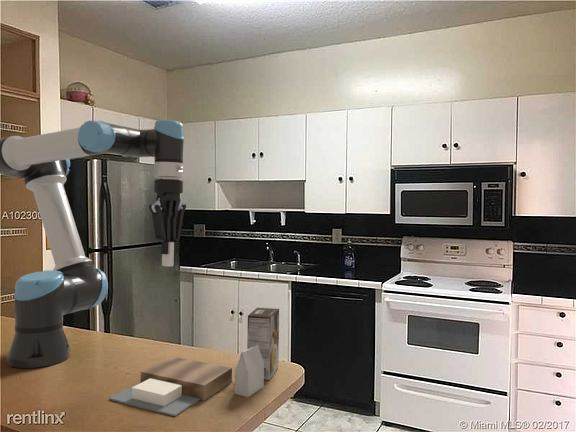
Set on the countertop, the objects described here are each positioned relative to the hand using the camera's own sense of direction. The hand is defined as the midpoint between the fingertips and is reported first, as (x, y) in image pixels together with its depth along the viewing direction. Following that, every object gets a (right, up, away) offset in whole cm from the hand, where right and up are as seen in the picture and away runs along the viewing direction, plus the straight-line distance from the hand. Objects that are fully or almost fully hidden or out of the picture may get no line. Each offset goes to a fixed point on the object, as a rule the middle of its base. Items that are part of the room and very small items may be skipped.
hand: (167, 265), depth 128 cm
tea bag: (+24, -28, -16) cm, 40 cm away
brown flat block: (+8, -27, -14) cm, 32 cm away
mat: (+3, -27, -23) cm, 36 cm away
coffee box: (+26, -27, -5) cm, 38 cm away
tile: (+3, -27, -22) cm, 35 cm away
